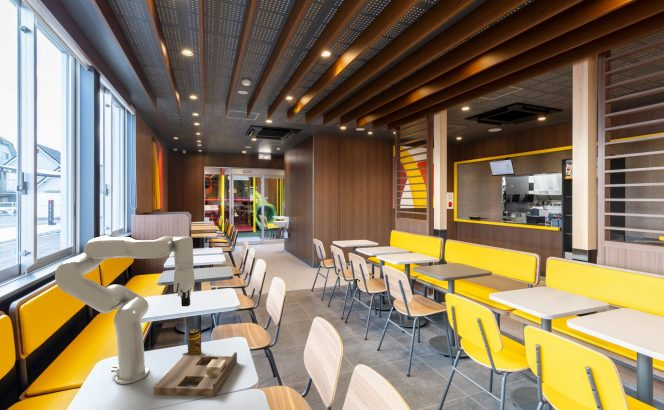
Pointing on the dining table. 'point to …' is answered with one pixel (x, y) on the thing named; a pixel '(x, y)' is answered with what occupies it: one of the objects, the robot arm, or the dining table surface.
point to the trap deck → (194, 377)
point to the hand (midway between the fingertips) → (185, 305)
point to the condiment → (194, 343)
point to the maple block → (215, 367)
